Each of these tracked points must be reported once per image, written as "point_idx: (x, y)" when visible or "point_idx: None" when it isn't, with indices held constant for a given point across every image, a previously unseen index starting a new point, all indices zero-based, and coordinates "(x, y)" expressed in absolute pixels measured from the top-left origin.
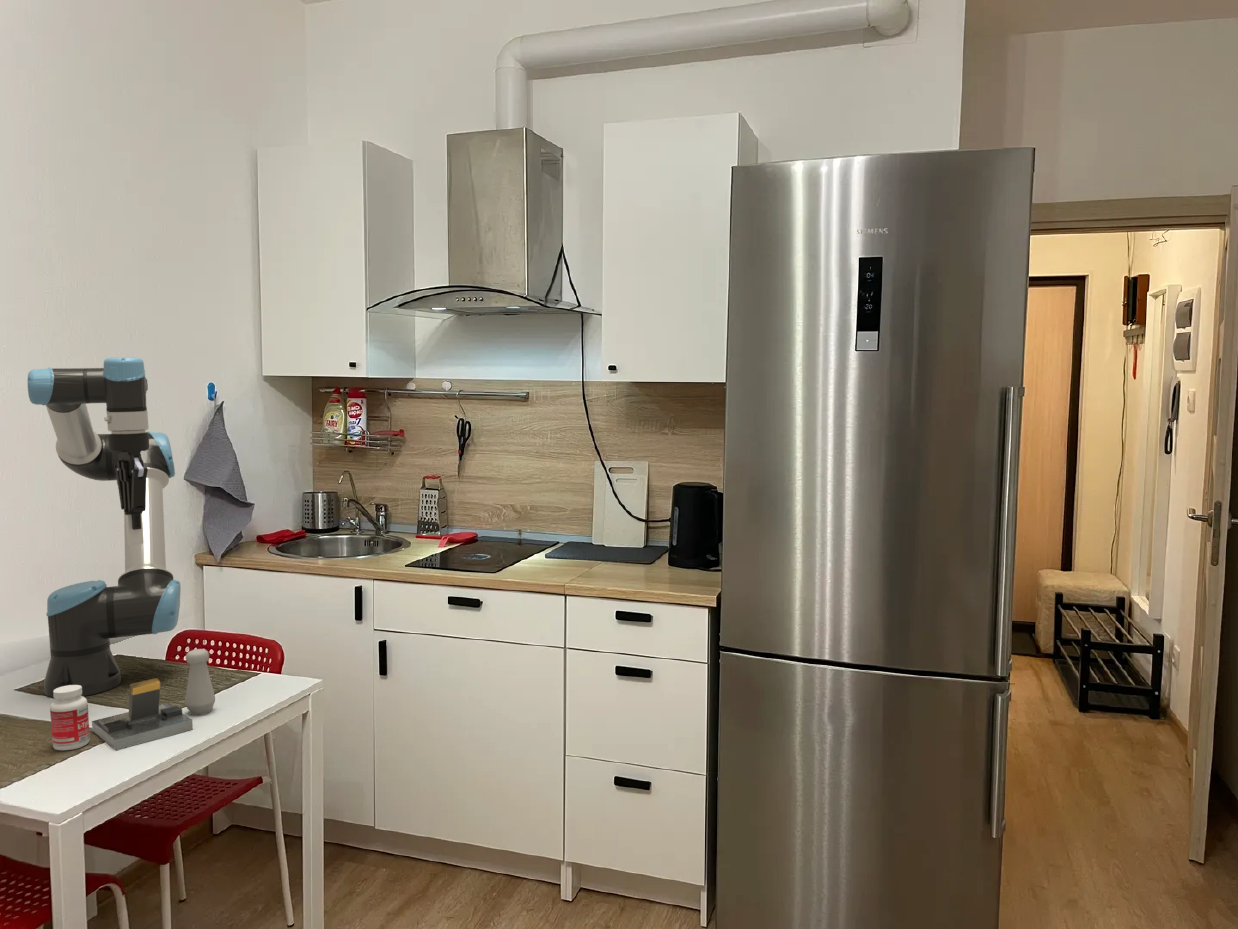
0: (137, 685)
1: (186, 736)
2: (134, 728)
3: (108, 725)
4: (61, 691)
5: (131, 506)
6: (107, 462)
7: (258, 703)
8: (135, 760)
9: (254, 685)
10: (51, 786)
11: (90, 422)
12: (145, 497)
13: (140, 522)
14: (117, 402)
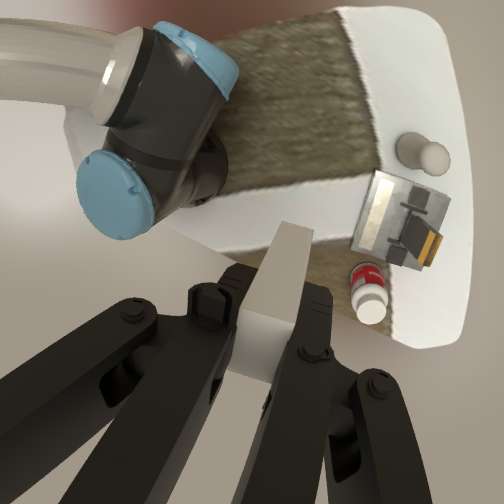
0: (429, 260)
1: (454, 212)
2: None
3: (395, 262)
4: (373, 320)
5: (326, 445)
6: None
7: (444, 99)
8: (451, 272)
9: (380, 47)
10: (424, 328)
11: None
12: (422, 476)
13: (330, 315)
14: None
